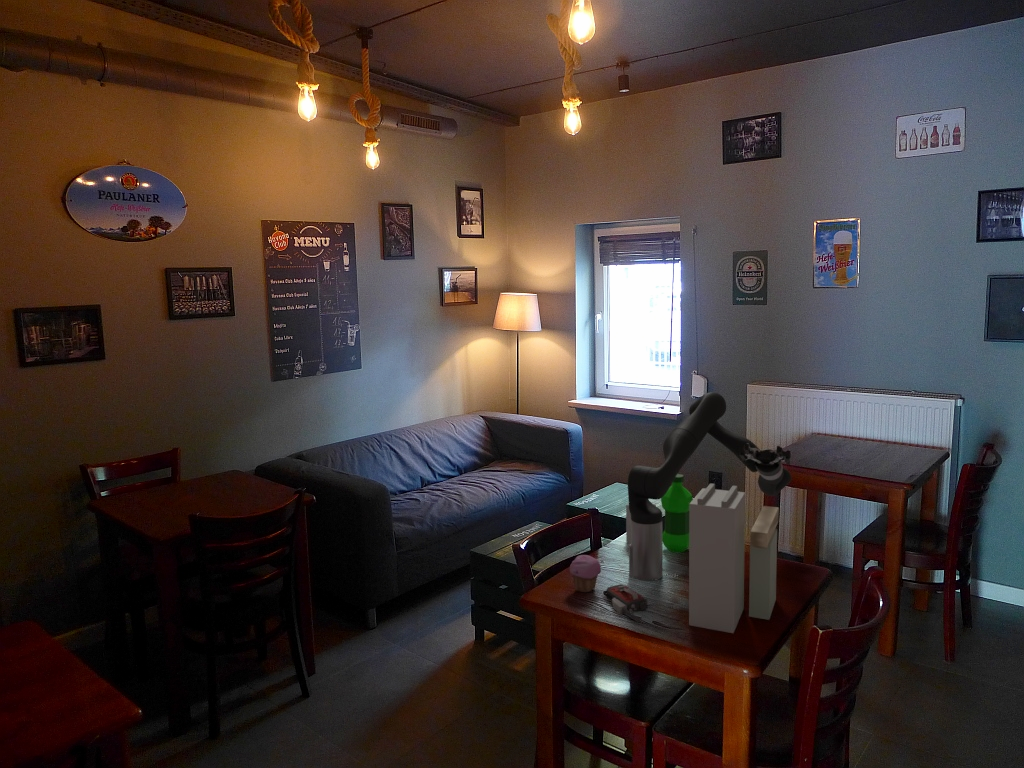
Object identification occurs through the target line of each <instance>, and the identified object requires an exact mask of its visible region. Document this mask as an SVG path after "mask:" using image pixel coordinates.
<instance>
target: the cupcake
mask: <svg viewBox="0 0 1024 768" xmlns="http://www.w3.org/2000/svg"><path fill="white" fill-rule="evenodd" d="M601 569H602V568H601V564H600V561H599V560H598V559H597V558H595V557H593V556H591V555H588V554H580V555H577V556H576V557H575V558H574V560H572V562H571V564H570V566H569V571H570V573H571V575H572V577H573V586H574V589H575V590H576V591H577V592H580V593H589V592H592V591H593V590H594V589H595V588H596V585H597V584H596V583H597V579H598V576H599V574H600V573H601V571H602V570H601Z"/></svg>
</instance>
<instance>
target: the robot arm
mask: <svg viewBox="0 0 1024 768" xmlns="http://www.w3.org/2000/svg"><path fill="white" fill-rule="evenodd" d="M726 411H727V403H726V400H725V398H724V397H723V395H722V394H720V393H718V392H714V391H713V392H711V391H710V392H707V393H705V394H703V395H701V396H700V397H699V398H697V400H695V401H694V402H693V403H692V404H691V405H690V406H689V409H688V414H689V416H686V418H684V419H683V420H682V421H681V422H680V423H678V425H676V426H675V427H674V429H672V430H671V432H670V433H669V434H668V435H667V437H666V438H665V439H664V441H663V443H662V444H663V445H662V451H663V457H664V461H663V463H662V464H661V465H660V466H659V467H653V466H652V467H651V466H648V465H647V466H646V465H635V466H633V467H631V469H630V471H629V473H628V475H627V476H628V477H627V495H628V504H629V511H630V514H631V543H629V545H628V576H629V577H632V578H635V579H636V580H641V581H647V582H648V581H649V582H651V581H657V580H660V579H661V578H662V577H663V573H664V572H663V571H664V570H663V569H664V568H663V566H664V565H663V558H664V557H663V553H664V552H663V548H664V547H663V546H664V544H663V538H662V534H663V511H662V510H661V509H660V508H659V507H657V505H656V504H655V505H656V506H655V505H653V504H654V503H652V502H651V500H656V501H657V500H661V498H662V497H663V496H664V495H665V494H666V492H667V491H668V489H669V488H670V487H671V486H672V482H673V481H674V479H675V477H676V475H677V474H679V472H680V471H681V469H682V468H683V467H684V465H685V464H686V462H687V461H688V460H689V459H690V458H691V456H692V455H693V454H694V453H695V451H696V450H697V448H698V447H699V446H700V444H701V443H702V442H703V440H704V438H705V437H706V436H707V434H708V435H710V436H711V437H712V438H713V439H714V440H716V441H718V442H719V443H720V444H721V445H723V446H724V447H725V448H726V449H728V450H729V451H730V452H731V453H732V454H733V455H734V456H735V457H736V458H737V459H738V460H739V461H740V462H741V463H742V464H743V465H744V466H745V468H747V469H748V470H749V471H750V472H751V473H756V472H758V474H759V475H758V478H757V485H758V487H759V489H760V491H761V492H762V493H763V494H764V495H765V496H768V497H774V496H777V495H778V494H779V493H780V492H782V490H783V489H785V488H786V486H789V484H790V483H791V482H792V478H793V477H792V474H791V472H790V470H788V469H787V468H785V467H784V466H783V463H785V465H787V466H789V465H791V461H792V452H791V450H786V451H785V450H784V449H783V447H781V446H780V445H776V449H774V450H773V449H770V448H765V449H760V448H759V446H757V445H756V443H754V442H753V441H752V440H750V439H748V437H745V436H742V435H740V434H737V433H734V432H733V431H731V430H729V429H727V428H725V427H724V426H723V425H722V424H720V422H719V421H718V420H719V419H721V418H722V417H723V416H724V415H725V413H726Z"/></svg>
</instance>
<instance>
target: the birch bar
mask: <svg viewBox="0 0 1024 768" xmlns="http://www.w3.org/2000/svg"><path fill="white" fill-rule="evenodd" d="M779 511H780V510H779V507H777V506H768V505H763V506H762V508H761V510H760V511H759V514H758V516H757V518H756V520H755V522H754V524H753V526H752V528H751V530H750V532H749V533H750V537H749V538H750V543H749V548H750V547H757V548H765V549H767V547H768V545H769V543H770V540H771V538H772V535H773V533H774V531H775V529H777V526H778V523H779V513H780V512H779Z"/></svg>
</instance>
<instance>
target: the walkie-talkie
mask: <svg viewBox="0 0 1024 768" xmlns="http://www.w3.org/2000/svg"><path fill="white" fill-rule="evenodd" d="M602 592H603V593H602V594H603V595H604V596H605V597H606V599H607V600H609V602H611V604H612V609H614V610H615V611H616V612H617V613H619V614H620V615H622V614H624V615H627V616H628V617H630V618H631V619H632V620H635V621H636V622H637V623H640V624H642V620H641V619H640V618H639V617H638V616H636V615H635V614H633V612H637V611H644V610H646V609H648V599H647V598H646V597H644V596H642V595H641V594H639V593H638V592H636V591H634V589H633V588H630V587H629V586H627V585H625V584H621V583H620V584H617V585H611V586H608V587H607V588H606V590H603V591H602Z"/></svg>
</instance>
